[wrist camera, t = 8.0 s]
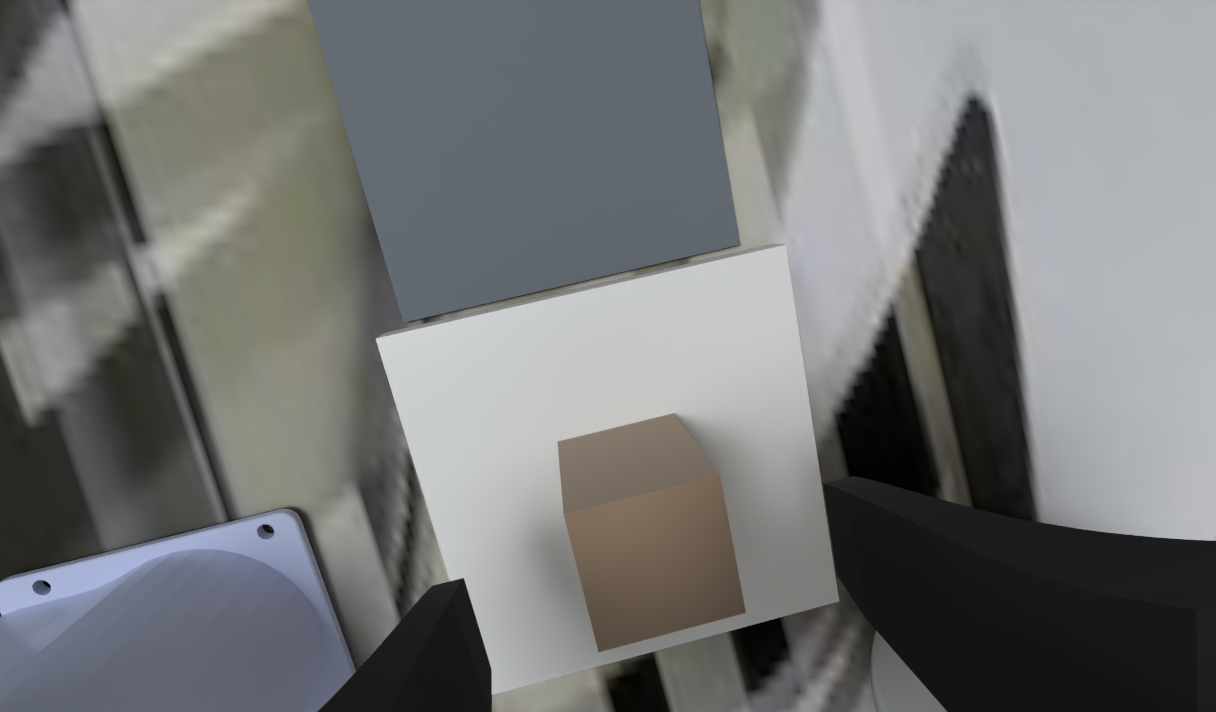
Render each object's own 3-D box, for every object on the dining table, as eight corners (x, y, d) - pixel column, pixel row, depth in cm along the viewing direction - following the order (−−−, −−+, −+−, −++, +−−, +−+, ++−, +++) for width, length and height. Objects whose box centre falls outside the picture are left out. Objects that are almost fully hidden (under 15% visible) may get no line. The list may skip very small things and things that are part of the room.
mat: (405, 321, 19) (403, 322, 19) (292, -60, 17) (287, -66, 17) (736, 244, 20) (739, 244, 20) (672, -132, 18) (675, -139, 17)
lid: (487, 675, 17) (467, 842, 12) (384, 333, 15) (312, 378, 10) (825, 585, 18) (929, 712, 13) (773, 244, 15) (874, 248, 11)
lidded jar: (845, 481, 22) (1059, 654, 13) (1105, 491, 23) (1466, 656, 14) (801, 733, 24) (961, 1038, 15) (1044, 731, 25) (1326, 1009, 16)
